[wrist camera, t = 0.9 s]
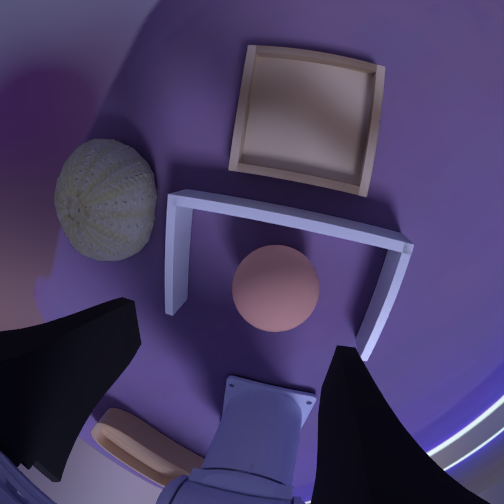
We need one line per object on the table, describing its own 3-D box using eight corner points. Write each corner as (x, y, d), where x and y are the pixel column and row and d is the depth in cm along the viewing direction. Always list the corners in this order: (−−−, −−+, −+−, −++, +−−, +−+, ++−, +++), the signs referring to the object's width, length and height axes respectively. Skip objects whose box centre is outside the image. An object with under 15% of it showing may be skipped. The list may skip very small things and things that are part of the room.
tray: (362, 194, 15) (366, 197, 14) (234, 169, 16) (228, 170, 15) (380, 72, 12) (385, 66, 11) (252, 51, 13) (248, 44, 12)
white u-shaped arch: (362, 339, 18) (366, 361, 16) (180, 297, 20) (165, 313, 18) (401, 232, 15) (414, 244, 13) (186, 188, 17) (168, 194, 15)
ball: (309, 311, 18) (305, 358, 14) (239, 295, 19) (216, 336, 14) (327, 243, 17) (331, 276, 12) (249, 227, 17) (225, 253, 13)
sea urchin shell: (91, 108, 15) (68, 156, 10) (172, 150, 21) (188, 210, 16) (49, 198, 18) (30, 268, 14) (120, 225, 24) (124, 293, 19)
